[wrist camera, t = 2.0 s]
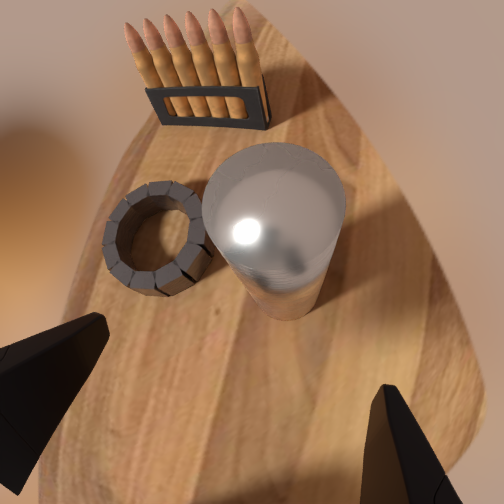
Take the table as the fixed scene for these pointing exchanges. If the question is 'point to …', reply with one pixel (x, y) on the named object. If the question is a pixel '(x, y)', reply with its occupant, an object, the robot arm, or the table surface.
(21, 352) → the robot arm
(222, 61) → the ammunition clip
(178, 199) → the ring
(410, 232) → the table surface
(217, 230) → the silver tall cylinder
